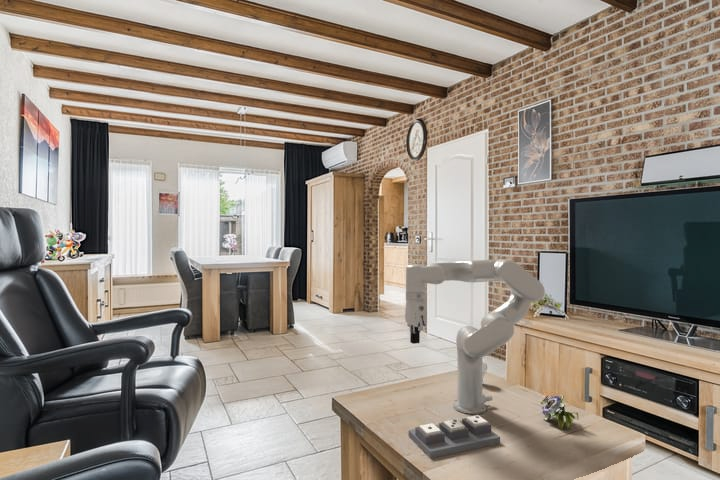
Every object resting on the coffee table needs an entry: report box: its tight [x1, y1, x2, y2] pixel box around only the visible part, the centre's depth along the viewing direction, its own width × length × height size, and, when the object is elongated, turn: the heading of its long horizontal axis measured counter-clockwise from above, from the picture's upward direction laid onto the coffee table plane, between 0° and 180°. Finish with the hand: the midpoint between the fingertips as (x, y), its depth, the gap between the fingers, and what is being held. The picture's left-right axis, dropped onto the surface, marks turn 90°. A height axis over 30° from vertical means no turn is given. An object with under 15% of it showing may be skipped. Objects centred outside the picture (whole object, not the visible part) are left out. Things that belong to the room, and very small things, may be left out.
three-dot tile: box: [442, 418, 465, 431], centre depth 130 cm, size 5×5×3 cm
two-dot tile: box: [465, 414, 489, 427], centre depth 133 cm, size 5×5×3 cm
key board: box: [408, 417, 501, 459], centre depth 130 cm, size 26×14×4 cm, turn 110°
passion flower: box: [540, 394, 579, 431], centre depth 143 cm, size 11×11×12 cm
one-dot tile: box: [418, 422, 441, 436], centre depth 127 cm, size 5×5×3 cm
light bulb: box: [482, 359, 488, 384], centre depth 180 cm, size 7×7×11 cm
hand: (414, 342), depth 155 cm, fingers closed
